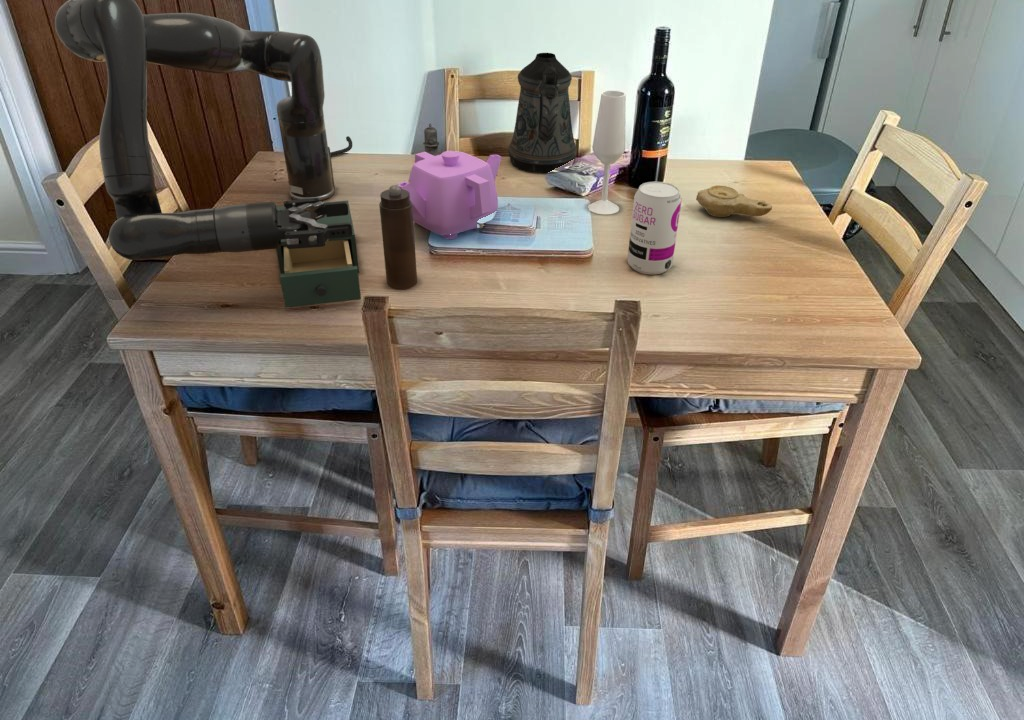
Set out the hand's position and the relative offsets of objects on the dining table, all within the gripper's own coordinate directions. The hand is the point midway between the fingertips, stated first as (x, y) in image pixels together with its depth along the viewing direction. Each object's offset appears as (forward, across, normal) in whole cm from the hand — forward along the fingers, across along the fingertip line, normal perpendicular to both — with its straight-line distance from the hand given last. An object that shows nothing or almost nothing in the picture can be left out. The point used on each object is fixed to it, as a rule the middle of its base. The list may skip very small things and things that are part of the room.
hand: (349, 218), depth 126 cm
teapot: (+21, +22, +13) cm, 33 cm away
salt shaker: (+22, +50, +13) cm, 56 cm away
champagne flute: (+54, +23, +13) cm, 60 cm away
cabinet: (-6, +13, +13) cm, 19 cm away
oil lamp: (+79, +13, +13) cm, 81 cm away
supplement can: (+53, -4, +13) cm, 55 cm away
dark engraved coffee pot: (+50, +51, +13) cm, 72 cm away
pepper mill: (+8, 0, +13) cm, 15 cm away
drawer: (-6, +1, +12) cm, 14 cm away
